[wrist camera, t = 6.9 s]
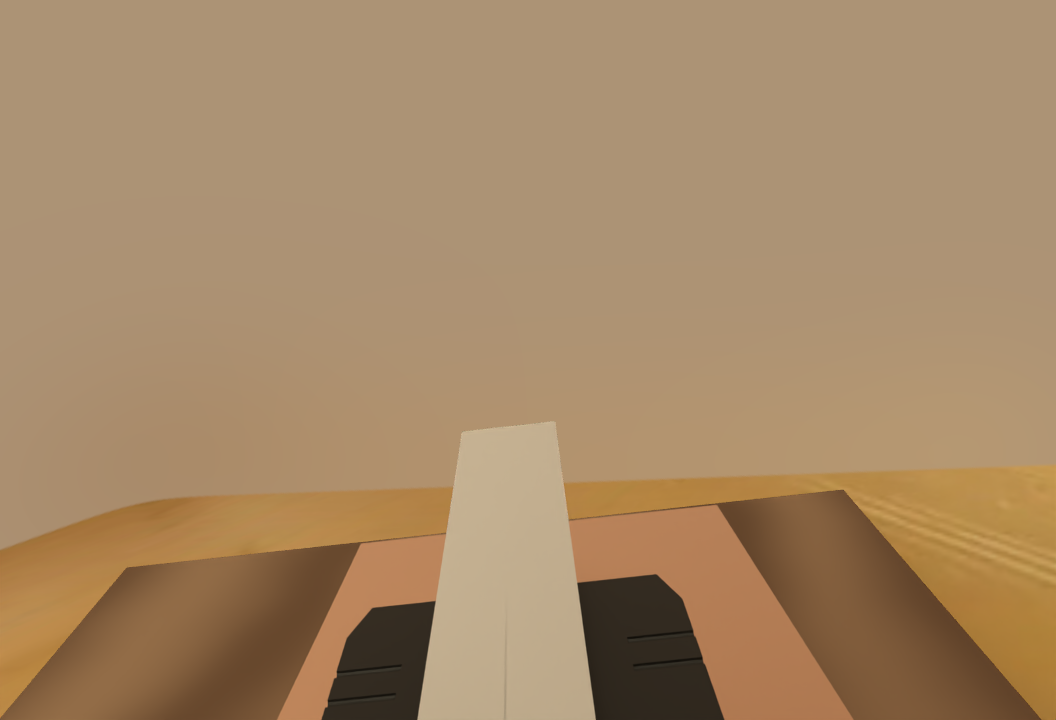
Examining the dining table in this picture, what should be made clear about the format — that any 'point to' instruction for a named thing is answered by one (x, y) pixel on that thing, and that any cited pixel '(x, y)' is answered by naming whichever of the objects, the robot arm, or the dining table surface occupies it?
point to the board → (317, 573)
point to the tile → (608, 553)
